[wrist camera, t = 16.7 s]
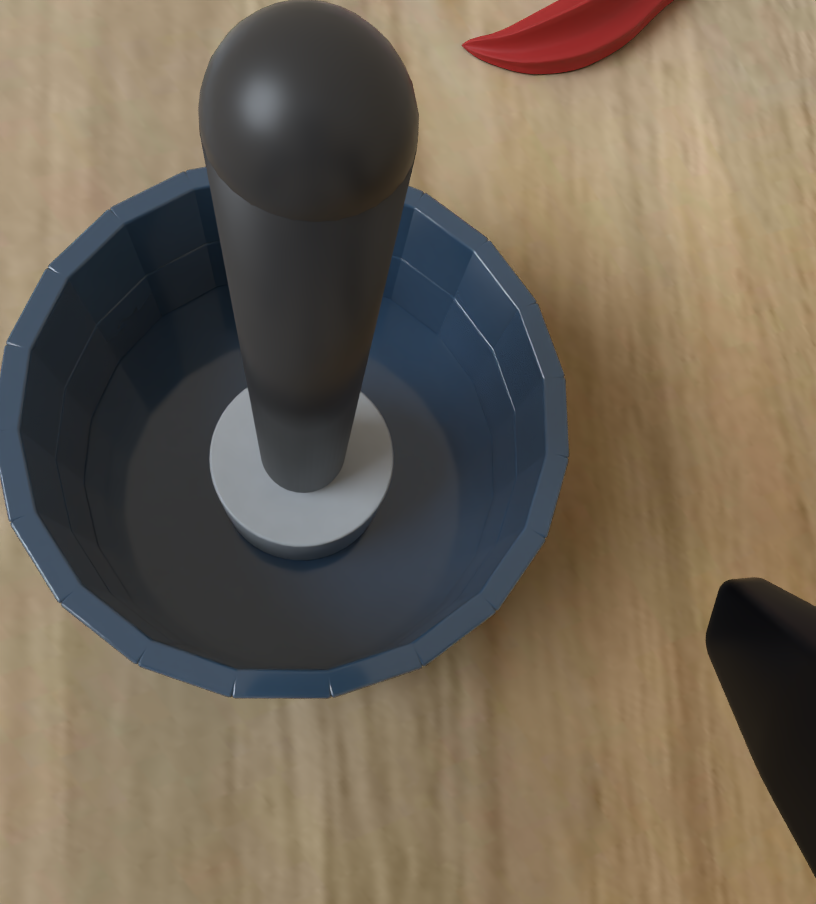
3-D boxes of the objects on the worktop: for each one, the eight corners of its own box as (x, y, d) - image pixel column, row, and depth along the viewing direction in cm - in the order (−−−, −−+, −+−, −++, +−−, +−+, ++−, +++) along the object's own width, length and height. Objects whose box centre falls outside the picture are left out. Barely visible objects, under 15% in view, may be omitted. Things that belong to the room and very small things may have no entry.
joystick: (351, 583, 18) (495, 381, 5) (193, 528, 18) (-100, 164, 5) (403, 434, 20) (634, -56, 6) (256, 381, 19) (159, -244, 6)
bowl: (126, 752, 17) (60, 789, 13) (31, 320, 20) (-55, 211, 15) (562, 608, 20) (648, 592, 15) (432, 235, 22) (469, 118, 17)
